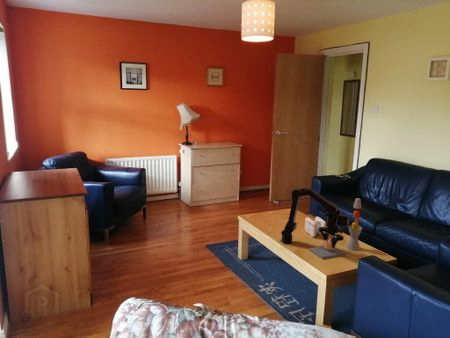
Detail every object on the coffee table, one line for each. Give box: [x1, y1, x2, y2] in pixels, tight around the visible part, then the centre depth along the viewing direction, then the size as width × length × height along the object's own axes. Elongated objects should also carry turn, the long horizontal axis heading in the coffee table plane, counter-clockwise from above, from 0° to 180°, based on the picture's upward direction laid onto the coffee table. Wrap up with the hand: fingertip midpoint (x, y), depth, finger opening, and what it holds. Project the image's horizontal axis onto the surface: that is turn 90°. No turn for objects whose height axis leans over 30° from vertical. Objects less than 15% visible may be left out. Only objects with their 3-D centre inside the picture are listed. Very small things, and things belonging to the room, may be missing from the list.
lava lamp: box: [346, 197, 363, 252], centre depth 236 cm, size 9×9×35 cm
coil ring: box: [323, 238, 337, 250], centre depth 231 cm, size 7×7×4 cm
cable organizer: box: [304, 216, 327, 238], centre depth 262 cm, size 15×11×12 cm
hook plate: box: [308, 238, 346, 260], centre depth 231 cm, size 18×14×9 cm
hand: (329, 245), depth 231 cm, fingers closed on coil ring, 7 cm apart
